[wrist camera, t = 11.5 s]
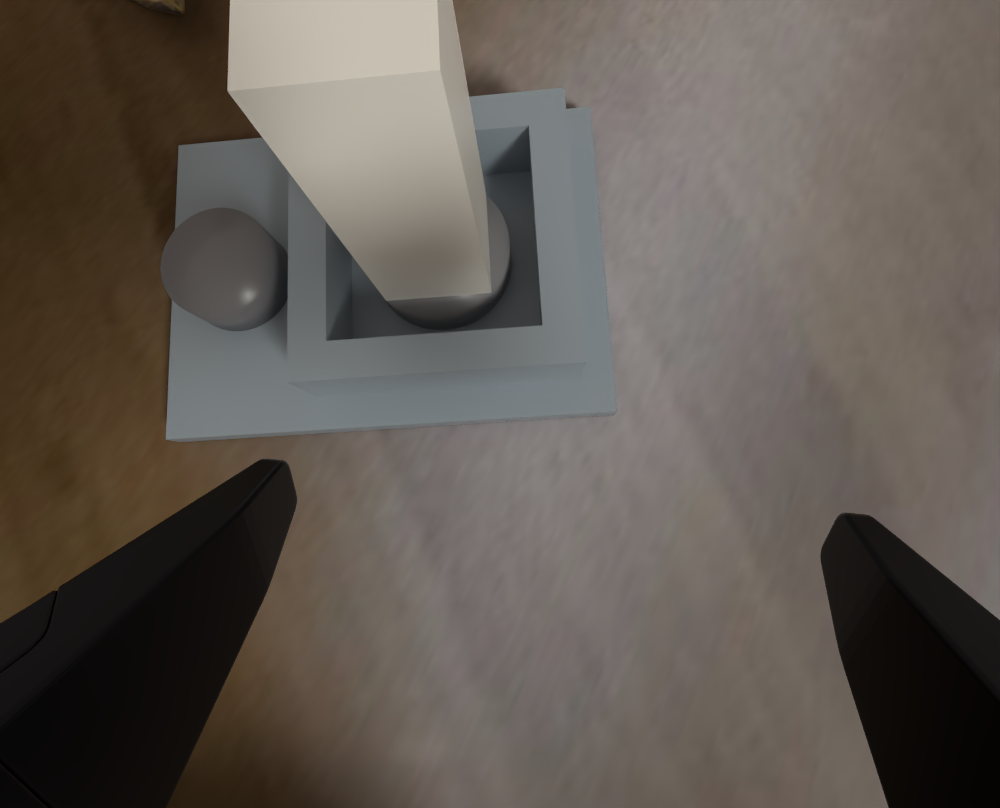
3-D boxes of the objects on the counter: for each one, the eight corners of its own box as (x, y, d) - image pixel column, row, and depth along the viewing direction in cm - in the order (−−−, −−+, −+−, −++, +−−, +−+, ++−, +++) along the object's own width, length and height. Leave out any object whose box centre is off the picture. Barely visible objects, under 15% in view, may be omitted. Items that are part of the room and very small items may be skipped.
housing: (614, 414, 23) (628, 397, 19) (181, 441, 24) (111, 430, 21) (588, 121, 26) (597, 53, 22) (191, 158, 27) (131, 99, 23)
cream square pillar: (516, 324, 23) (486, 105, 10) (377, 334, 24) (184, 134, 11) (507, 195, 24) (471, -152, 11) (374, 206, 25) (194, -118, 12)
